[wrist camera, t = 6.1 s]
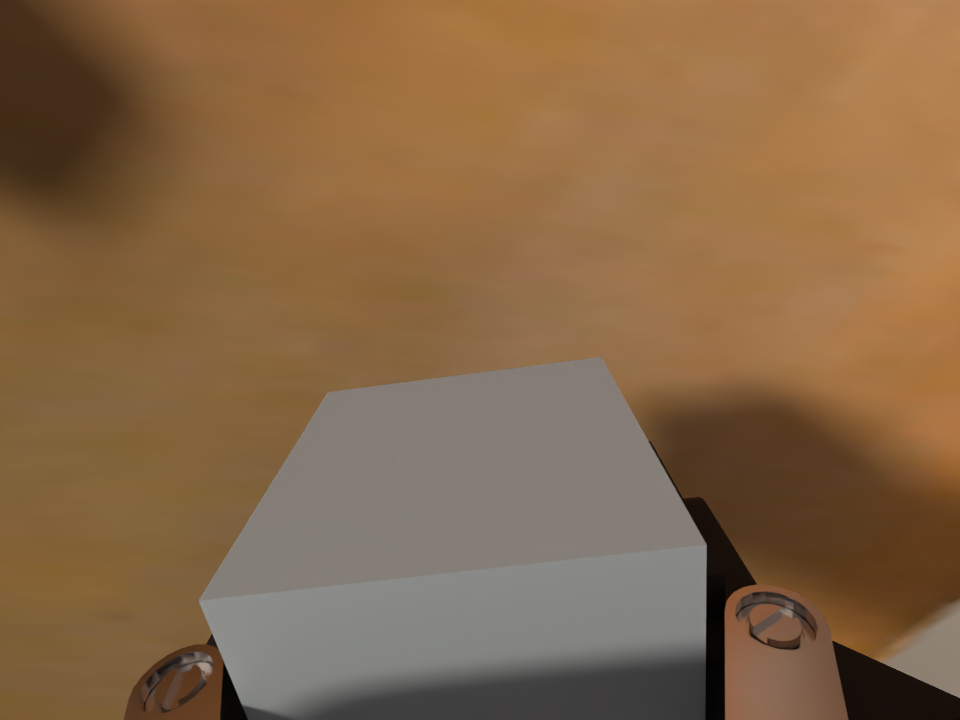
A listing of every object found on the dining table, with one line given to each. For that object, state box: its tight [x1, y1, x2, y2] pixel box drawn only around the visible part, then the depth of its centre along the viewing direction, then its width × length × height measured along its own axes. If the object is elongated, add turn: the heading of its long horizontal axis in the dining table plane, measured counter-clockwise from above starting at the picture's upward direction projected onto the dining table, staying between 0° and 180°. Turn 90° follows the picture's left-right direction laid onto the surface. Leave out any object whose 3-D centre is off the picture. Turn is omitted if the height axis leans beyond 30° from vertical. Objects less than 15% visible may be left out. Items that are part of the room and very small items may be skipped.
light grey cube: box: [199, 357, 707, 720], centre depth 10 cm, size 6×6×6 cm
